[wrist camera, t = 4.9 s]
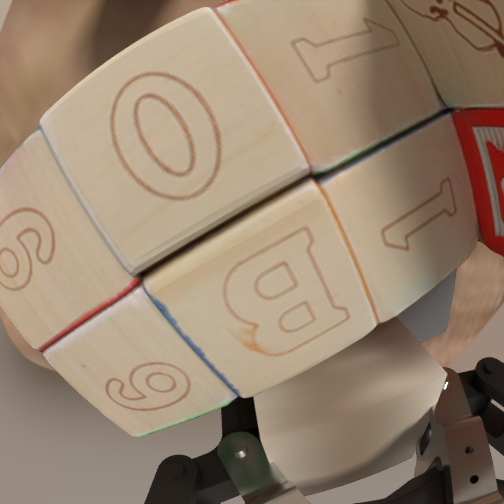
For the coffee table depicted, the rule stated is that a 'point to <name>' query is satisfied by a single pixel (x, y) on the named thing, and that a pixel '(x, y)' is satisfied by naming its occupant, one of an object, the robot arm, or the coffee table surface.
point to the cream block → (351, 410)
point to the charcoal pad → (430, 311)
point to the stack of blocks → (252, 196)
